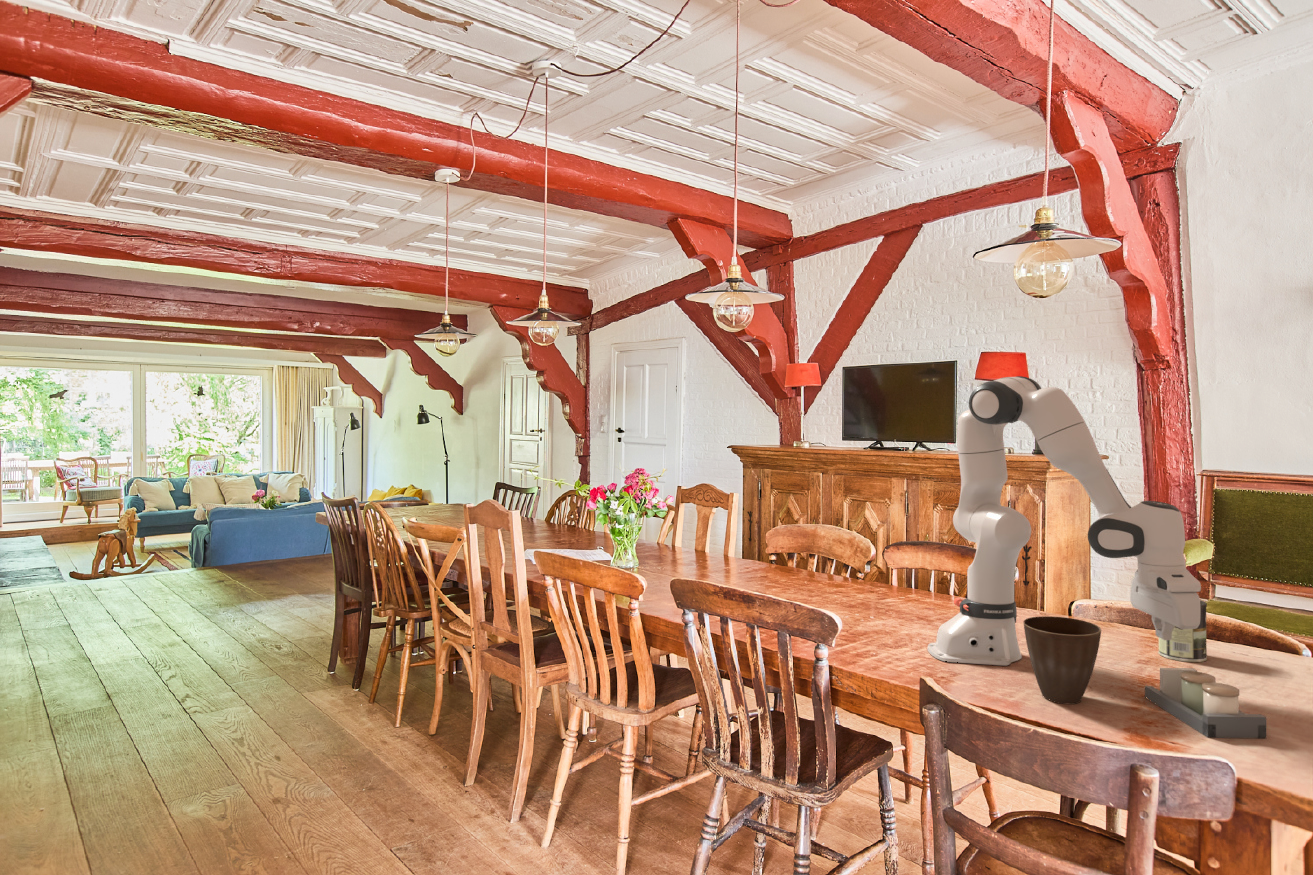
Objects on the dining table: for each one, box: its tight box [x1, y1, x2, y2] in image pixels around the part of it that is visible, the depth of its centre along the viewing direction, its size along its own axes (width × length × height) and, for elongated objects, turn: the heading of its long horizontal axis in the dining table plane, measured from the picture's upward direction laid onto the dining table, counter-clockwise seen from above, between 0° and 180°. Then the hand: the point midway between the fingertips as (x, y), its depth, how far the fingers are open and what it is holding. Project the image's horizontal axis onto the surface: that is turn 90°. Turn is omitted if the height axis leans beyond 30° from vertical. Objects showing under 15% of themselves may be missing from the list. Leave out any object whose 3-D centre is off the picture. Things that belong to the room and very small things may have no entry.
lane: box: [1144, 685, 1267, 739], centre depth 154 cm, size 10×21×4 cm, turn 176°
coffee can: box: [1157, 599, 1208, 663], centre depth 192 cm, size 10×10×14 cm
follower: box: [1159, 667, 1198, 704], centre depth 162 cm, size 7×4×7 cm, turn 86°
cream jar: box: [1202, 682, 1240, 714], centre depth 148 cm, size 6×6×8 cm
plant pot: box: [1023, 615, 1102, 704], centre depth 165 cm, size 15×15×16 cm
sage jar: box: [1181, 671, 1217, 716], centre depth 155 cm, size 6×6×8 cm
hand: (1163, 638), depth 166 cm, fingers closed
